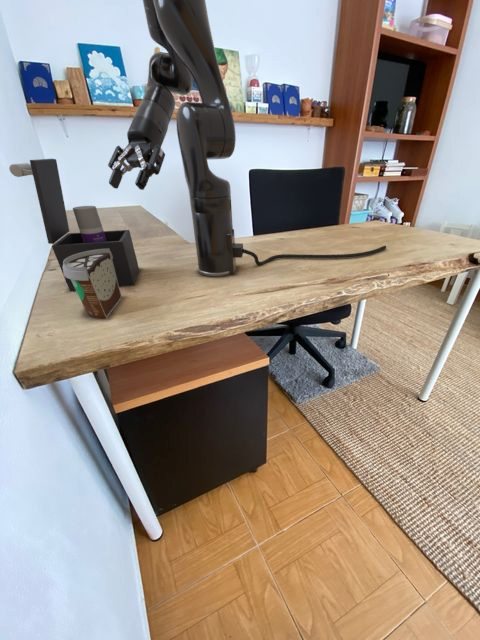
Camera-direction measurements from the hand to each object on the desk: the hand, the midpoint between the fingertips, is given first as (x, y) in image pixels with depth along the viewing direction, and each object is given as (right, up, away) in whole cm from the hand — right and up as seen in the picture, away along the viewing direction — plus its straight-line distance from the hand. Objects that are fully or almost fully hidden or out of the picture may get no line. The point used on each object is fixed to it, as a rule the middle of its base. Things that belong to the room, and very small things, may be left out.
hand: (125, 186), depth 70 cm
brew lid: (-10, -8, -9) cm, 16 cm away
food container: (0, -31, -12) cm, 33 cm away
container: (-5, -21, +1) cm, 22 cm away
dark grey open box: (-5, -22, +1) cm, 22 cm away
